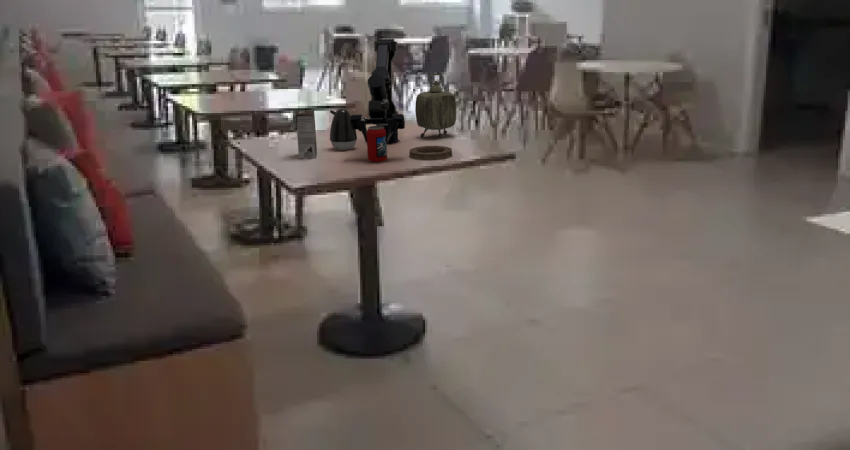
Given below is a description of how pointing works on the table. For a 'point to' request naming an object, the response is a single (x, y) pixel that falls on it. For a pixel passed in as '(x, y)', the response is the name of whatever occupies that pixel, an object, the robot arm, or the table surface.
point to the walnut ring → (423, 153)
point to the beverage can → (376, 144)
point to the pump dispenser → (342, 130)
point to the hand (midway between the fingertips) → (376, 141)
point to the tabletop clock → (435, 108)
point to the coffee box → (306, 134)
